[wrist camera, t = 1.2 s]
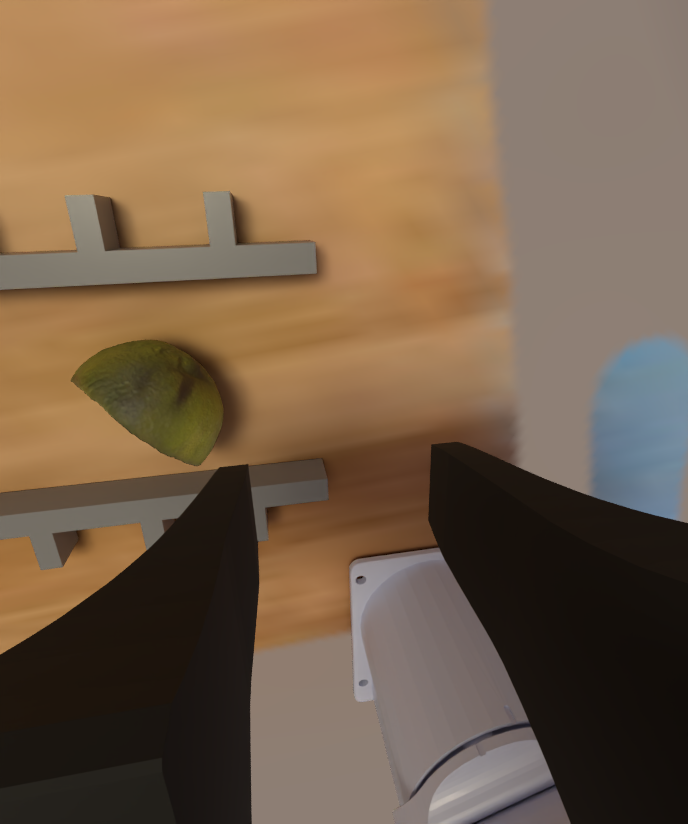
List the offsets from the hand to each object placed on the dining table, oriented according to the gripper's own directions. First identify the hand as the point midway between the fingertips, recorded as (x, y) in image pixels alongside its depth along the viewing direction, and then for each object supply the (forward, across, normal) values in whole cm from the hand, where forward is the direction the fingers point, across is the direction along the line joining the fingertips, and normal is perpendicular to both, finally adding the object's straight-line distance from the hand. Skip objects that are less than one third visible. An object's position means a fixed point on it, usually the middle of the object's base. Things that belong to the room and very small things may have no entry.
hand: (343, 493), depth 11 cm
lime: (+10, +6, 0) cm, 11 cm away
